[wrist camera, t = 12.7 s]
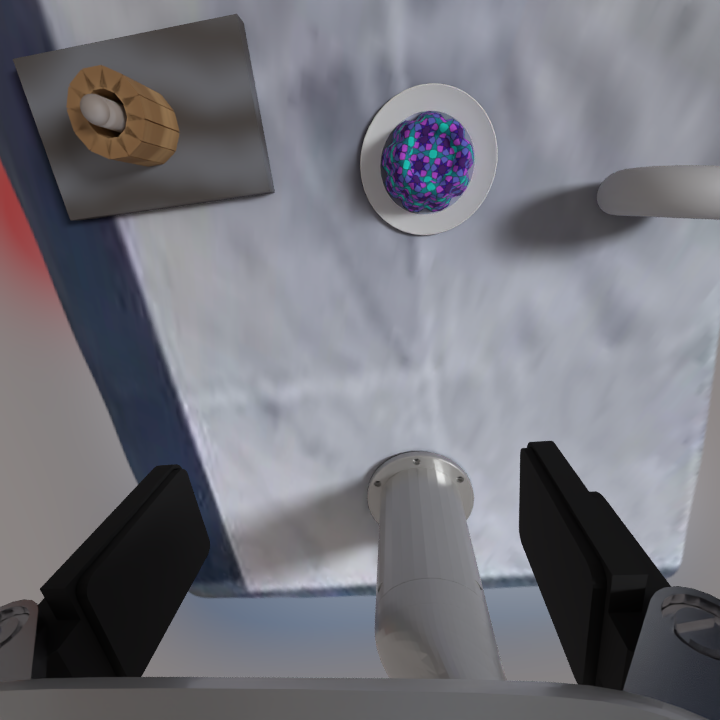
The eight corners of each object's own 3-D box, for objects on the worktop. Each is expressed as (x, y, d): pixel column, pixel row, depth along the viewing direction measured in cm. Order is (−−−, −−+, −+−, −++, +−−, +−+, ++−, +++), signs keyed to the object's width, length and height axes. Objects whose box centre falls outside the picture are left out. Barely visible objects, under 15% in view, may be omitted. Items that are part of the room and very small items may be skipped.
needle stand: (274, 192, 36) (241, 186, 28) (82, 220, 39) (2, 221, 31) (243, 22, 32) (194, -41, 24) (28, 65, 34) (-82, 20, 26)
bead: (186, 160, 35) (154, 151, 30) (125, 170, 35) (84, 163, 31) (166, 81, 33) (129, 59, 28) (102, 94, 33) (54, 74, 29)
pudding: (372, 75, 33) (368, 51, 28) (512, 98, 33) (533, 77, 28) (351, 223, 37) (345, 225, 32) (475, 244, 37) (488, 248, 32)
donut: (570, 215, 35) (635, 215, 26) (579, 173, 34) (651, 157, 25) (685, 220, 35) (794, 222, 25) (699, 177, 33) (818, 163, 24)
